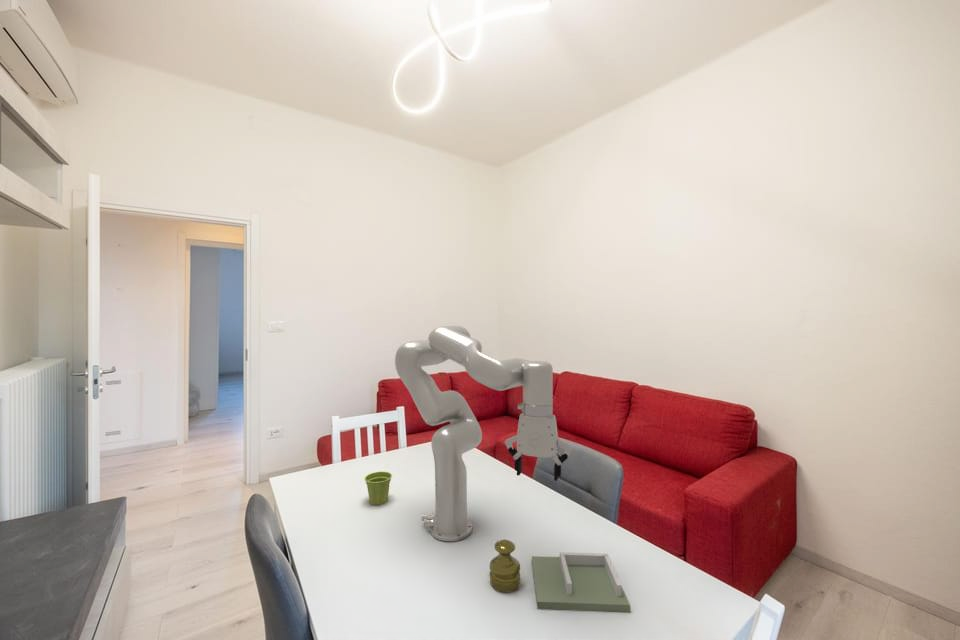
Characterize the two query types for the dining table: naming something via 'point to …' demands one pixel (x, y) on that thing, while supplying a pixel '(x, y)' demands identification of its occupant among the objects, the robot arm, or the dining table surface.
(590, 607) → the board with raised rails
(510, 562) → the olive rounded stacked piece
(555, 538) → the dining table surface
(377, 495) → the plant pot
